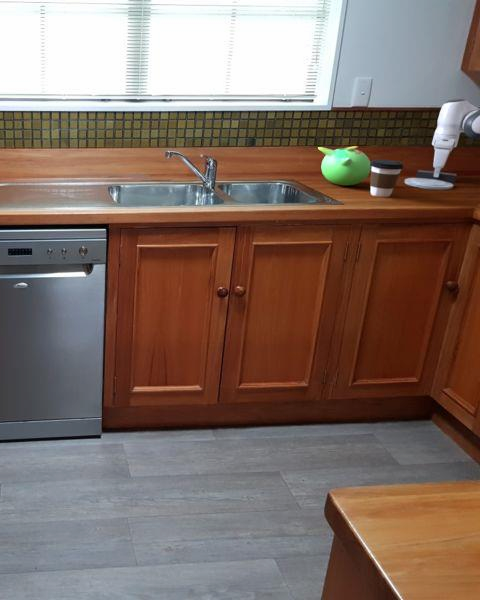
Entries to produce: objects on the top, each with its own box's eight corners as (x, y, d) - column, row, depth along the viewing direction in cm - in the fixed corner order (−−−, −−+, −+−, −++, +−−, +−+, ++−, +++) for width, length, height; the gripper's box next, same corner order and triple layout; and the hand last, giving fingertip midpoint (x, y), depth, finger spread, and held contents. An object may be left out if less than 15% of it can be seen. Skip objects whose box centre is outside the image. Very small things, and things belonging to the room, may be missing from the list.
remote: (415, 178, 251) (417, 170, 250) (416, 176, 254) (418, 169, 253) (454, 182, 245) (456, 175, 244) (454, 180, 248) (456, 173, 247)
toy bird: (375, 188, 231) (384, 148, 225) (343, 191, 224) (351, 151, 218) (338, 178, 246) (345, 141, 240) (307, 181, 239) (314, 143, 233)
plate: (453, 183, 242) (454, 180, 242) (452, 191, 229) (453, 188, 228) (406, 178, 250) (406, 175, 249) (402, 185, 236) (403, 182, 236)
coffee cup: (397, 194, 222) (405, 161, 218) (395, 200, 213) (403, 166, 209) (365, 190, 227) (372, 158, 222) (362, 196, 218) (369, 162, 213)
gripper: (437, 137, 253) (428, 170, 259) (434, 143, 237) (426, 178, 242) (454, 139, 250) (445, 172, 256) (453, 145, 234) (443, 180, 240)
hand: (436, 175), depth 249 cm, fingers closed on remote, 4 cm apart
